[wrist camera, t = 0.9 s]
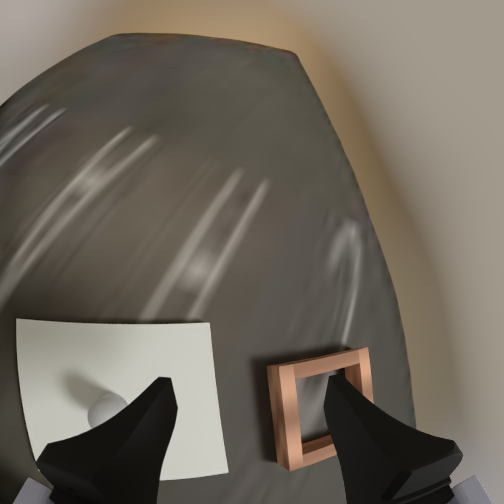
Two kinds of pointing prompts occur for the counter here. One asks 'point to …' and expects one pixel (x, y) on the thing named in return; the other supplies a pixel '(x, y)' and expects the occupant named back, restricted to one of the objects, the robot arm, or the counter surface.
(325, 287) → the counter surface
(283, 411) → the loop
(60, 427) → the hook board
